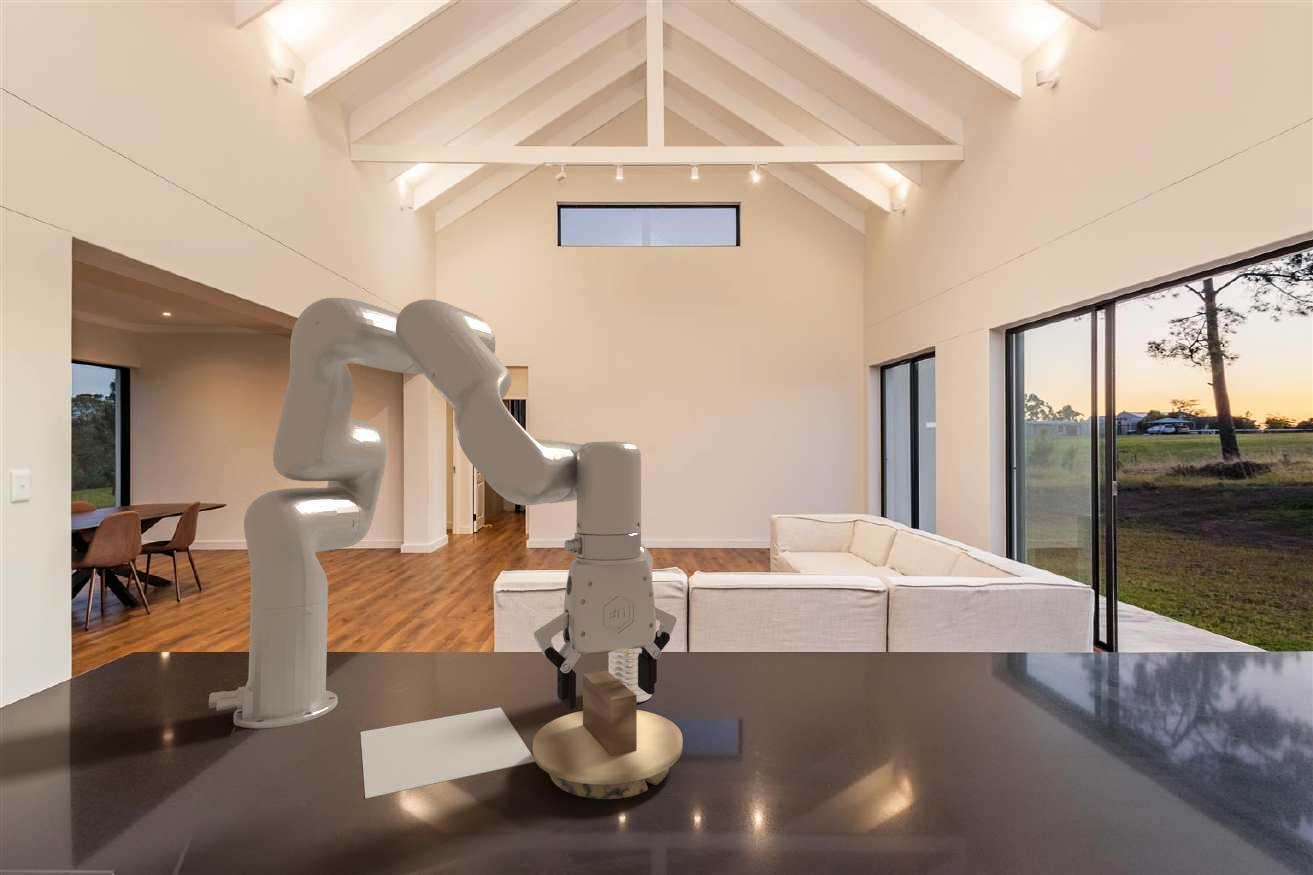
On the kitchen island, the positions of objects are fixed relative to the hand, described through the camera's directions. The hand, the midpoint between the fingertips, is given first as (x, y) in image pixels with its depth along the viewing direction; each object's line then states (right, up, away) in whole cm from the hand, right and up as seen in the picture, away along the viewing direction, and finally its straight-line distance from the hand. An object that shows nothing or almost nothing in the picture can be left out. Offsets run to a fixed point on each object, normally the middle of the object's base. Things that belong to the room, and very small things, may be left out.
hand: (608, 697), depth 71 cm
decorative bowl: (0, -9, 0) cm, 9 cm away
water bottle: (+2, -10, +23) cm, 25 cm away
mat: (-21, -9, +5) cm, 23 cm away
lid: (0, -5, 0) cm, 5 cm away
